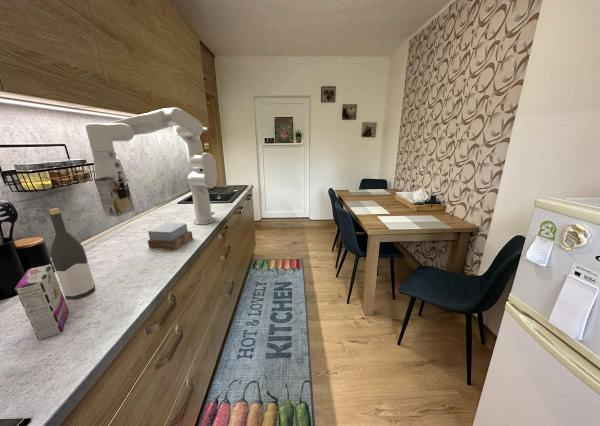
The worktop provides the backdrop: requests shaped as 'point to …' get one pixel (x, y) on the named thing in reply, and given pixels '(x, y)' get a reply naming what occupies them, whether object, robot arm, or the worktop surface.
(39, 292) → the candy bar box
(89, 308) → the worktop surface
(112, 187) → the coffee box
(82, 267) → the wine bottle
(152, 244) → the tower base slab
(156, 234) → the tower top slab
